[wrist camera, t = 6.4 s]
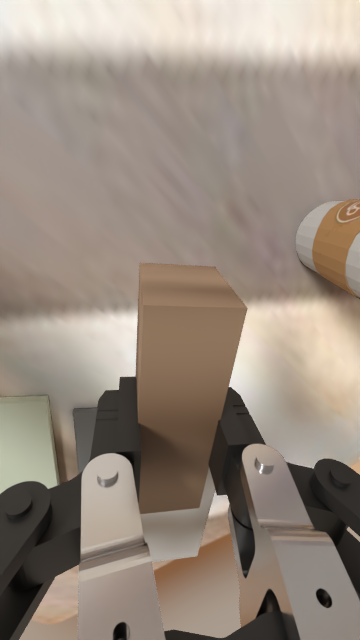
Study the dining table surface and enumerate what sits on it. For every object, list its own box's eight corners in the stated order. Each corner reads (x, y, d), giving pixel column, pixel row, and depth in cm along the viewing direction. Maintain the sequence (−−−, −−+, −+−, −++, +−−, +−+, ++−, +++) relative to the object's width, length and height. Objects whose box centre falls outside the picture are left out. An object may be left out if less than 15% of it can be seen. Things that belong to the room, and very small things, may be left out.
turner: (86, 259, 9) (67, 303, 6) (260, 269, 10) (308, 309, 7) (102, 549, 18) (97, 619, 15) (194, 538, 19) (204, 601, 16)
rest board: (1, 530, 38) (-2, 538, 37) (-37, 398, 29) (-42, 405, 28) (65, 523, 39) (63, 530, 38) (48, 395, 30) (45, 401, 29)
